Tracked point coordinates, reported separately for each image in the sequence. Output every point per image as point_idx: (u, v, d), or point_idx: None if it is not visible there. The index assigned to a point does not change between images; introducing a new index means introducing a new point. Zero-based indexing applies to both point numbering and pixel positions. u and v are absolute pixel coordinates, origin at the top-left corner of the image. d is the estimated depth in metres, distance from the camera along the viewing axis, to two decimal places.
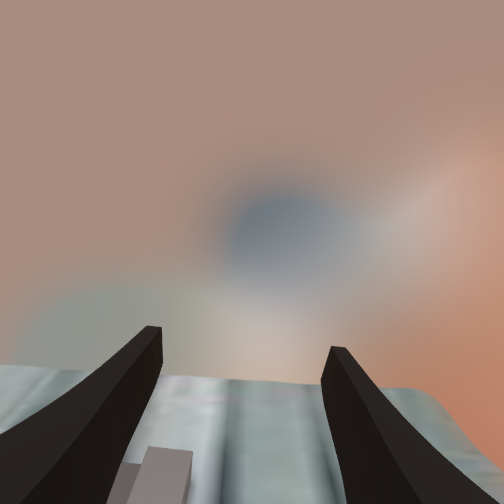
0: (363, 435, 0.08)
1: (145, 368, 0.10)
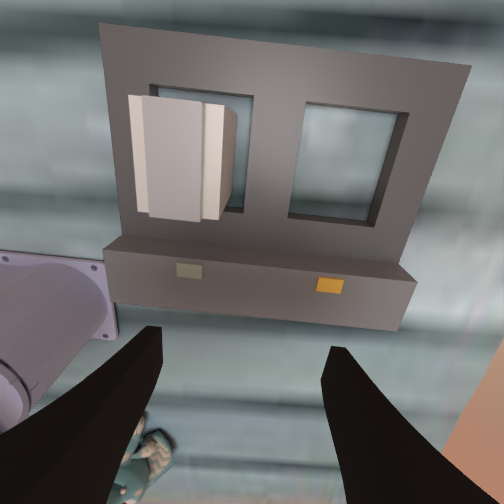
0: (363, 435, 0.08)
1: (145, 368, 0.10)
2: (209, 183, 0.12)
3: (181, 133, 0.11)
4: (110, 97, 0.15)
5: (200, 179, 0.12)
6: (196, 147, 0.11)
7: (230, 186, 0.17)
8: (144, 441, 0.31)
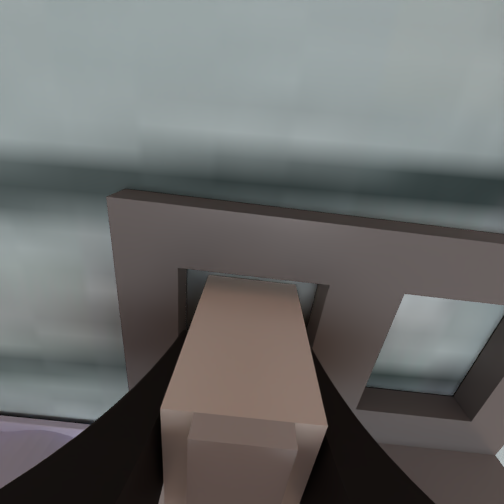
0: None
1: None
2: (284, 495, 0.08)
3: (253, 477, 0.06)
4: (121, 281, 0.11)
5: None
6: (276, 491, 0.06)
7: None
8: None
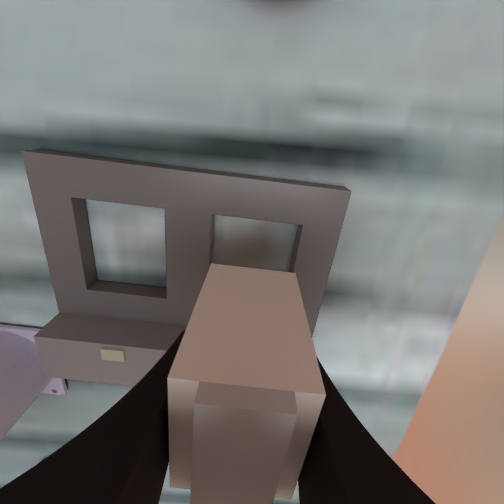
0: None
1: None
2: (284, 467, 0.08)
3: (255, 443, 0.07)
4: (37, 206, 0.17)
5: (276, 485, 0.07)
6: (277, 457, 0.07)
7: None
8: None
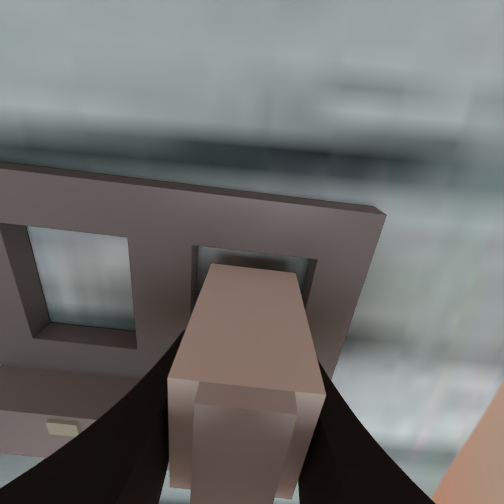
0: None
1: None
2: (284, 467, 0.08)
3: (255, 443, 0.07)
4: None
5: (276, 486, 0.07)
6: (277, 458, 0.07)
7: None
8: None
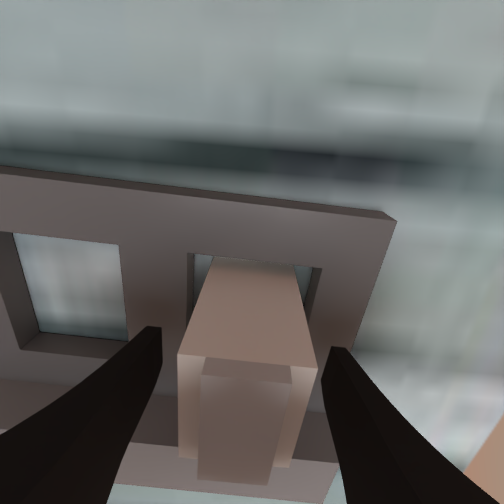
0: (363, 435, 0.08)
1: (145, 368, 0.10)
2: (282, 437, 0.09)
3: (255, 411, 0.07)
4: None
5: (274, 452, 0.08)
6: (275, 425, 0.08)
7: None
8: None
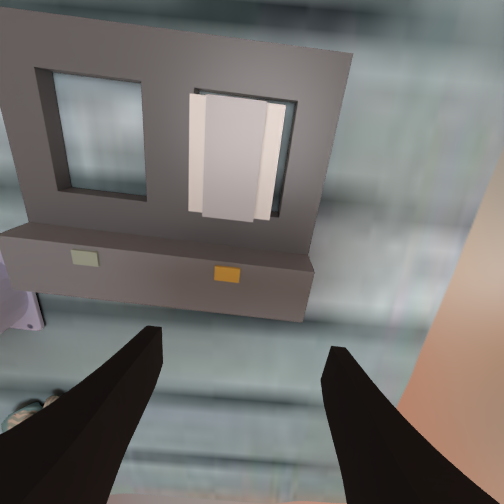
0: (363, 435, 0.08)
1: (145, 368, 0.10)
2: (263, 183, 0.12)
3: (243, 133, 0.11)
4: None
5: (257, 179, 0.12)
6: (256, 147, 0.11)
7: None
8: None
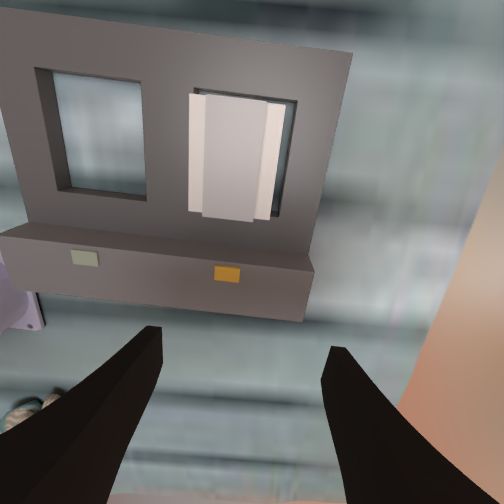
0: (363, 435, 0.08)
1: (145, 368, 0.10)
2: (263, 183, 0.12)
3: (242, 133, 0.11)
4: None
5: (257, 179, 0.12)
6: (256, 147, 0.11)
7: None
8: None
